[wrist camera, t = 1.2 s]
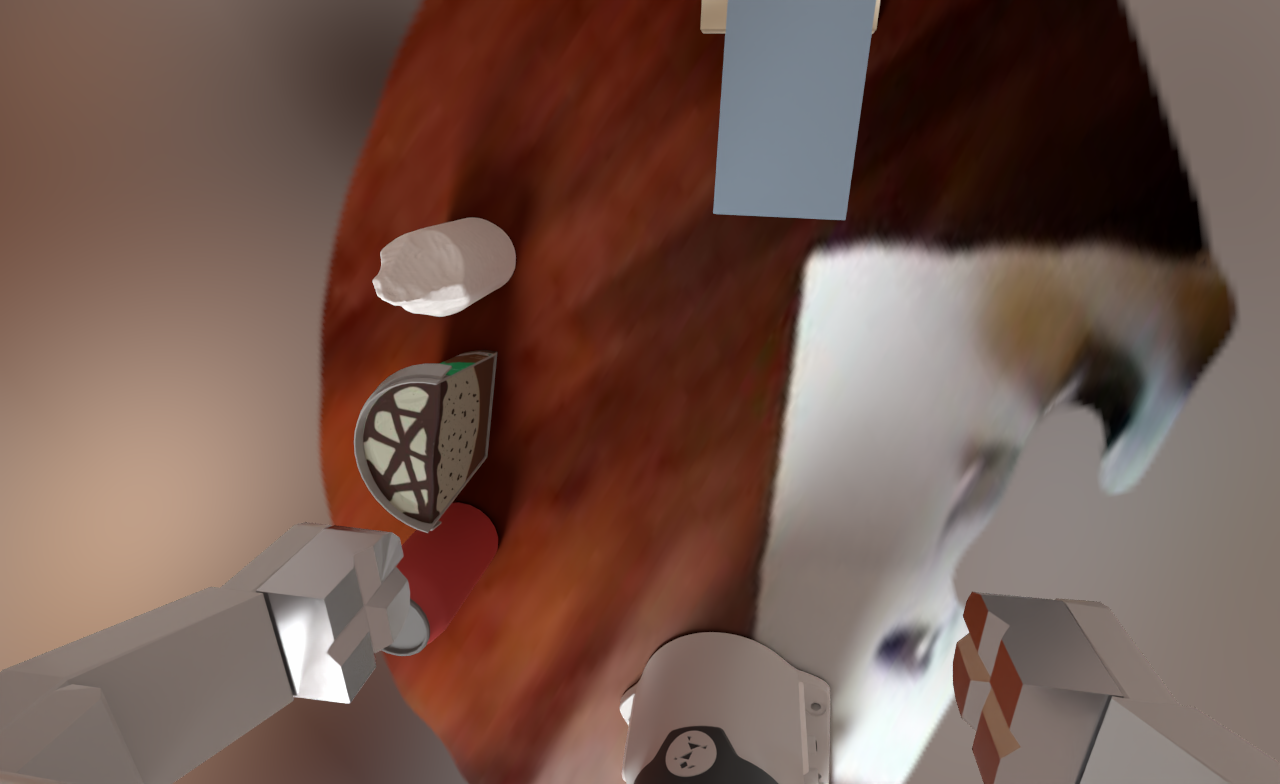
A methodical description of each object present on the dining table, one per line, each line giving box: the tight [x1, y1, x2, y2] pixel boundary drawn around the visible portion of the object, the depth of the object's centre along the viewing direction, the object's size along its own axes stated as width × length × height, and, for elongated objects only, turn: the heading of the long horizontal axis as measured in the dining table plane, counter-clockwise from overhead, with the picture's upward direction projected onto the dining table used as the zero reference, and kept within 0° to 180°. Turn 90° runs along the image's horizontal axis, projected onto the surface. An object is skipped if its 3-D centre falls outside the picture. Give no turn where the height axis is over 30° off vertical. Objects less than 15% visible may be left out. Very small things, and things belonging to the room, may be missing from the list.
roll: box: [373, 217, 516, 317], centre depth 42 cm, size 6×12×6 cm
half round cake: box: [354, 350, 497, 533], centre depth 47 cm, size 12×6×10 cm, turn 170°
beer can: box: [382, 502, 498, 656], centre depth 51 cm, size 7×7×12 cm
